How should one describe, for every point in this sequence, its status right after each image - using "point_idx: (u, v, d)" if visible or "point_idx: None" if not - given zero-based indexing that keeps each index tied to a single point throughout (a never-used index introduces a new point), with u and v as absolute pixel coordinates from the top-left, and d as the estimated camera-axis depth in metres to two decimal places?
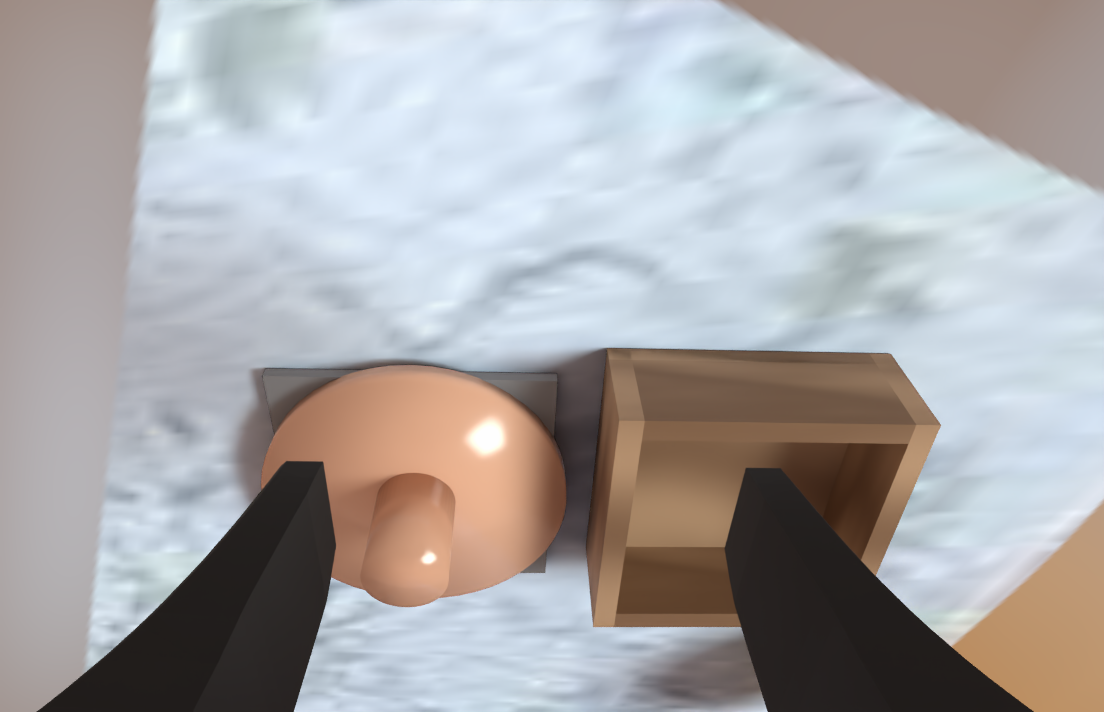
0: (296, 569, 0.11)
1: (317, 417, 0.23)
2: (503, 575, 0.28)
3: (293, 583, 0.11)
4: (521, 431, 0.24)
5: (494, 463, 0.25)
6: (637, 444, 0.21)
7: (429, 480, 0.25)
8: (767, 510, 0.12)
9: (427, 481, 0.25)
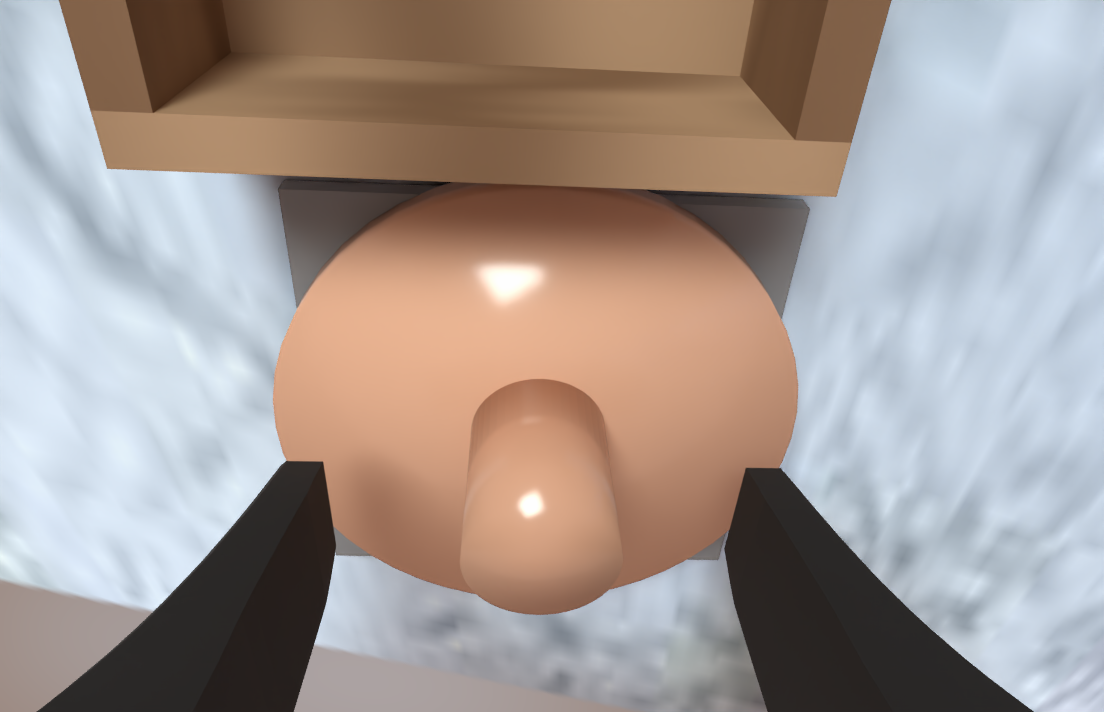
0: (296, 569, 0.11)
1: (365, 530, 0.16)
2: (757, 308, 0.13)
3: (293, 583, 0.11)
4: (362, 271, 0.13)
5: (444, 317, 0.13)
6: (167, 123, 0.09)
7: (476, 418, 0.14)
8: (767, 510, 0.12)
9: (474, 422, 0.14)
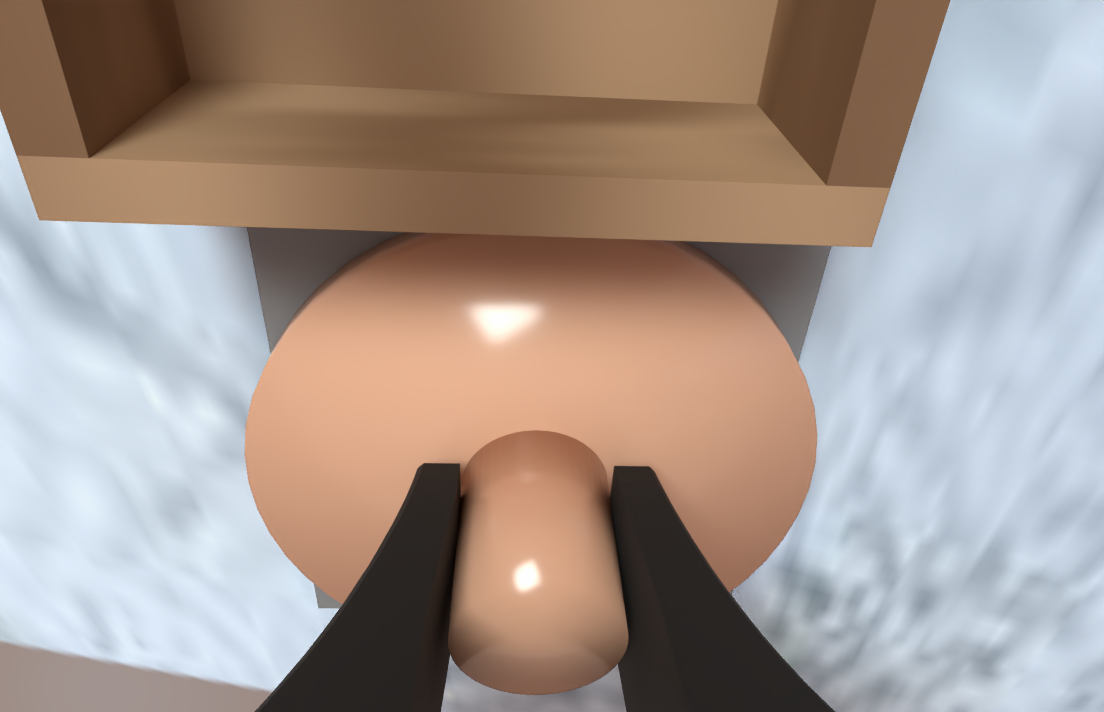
0: (448, 570, 0.11)
1: (348, 587, 0.15)
2: (774, 355, 0.12)
3: (446, 584, 0.11)
4: (339, 319, 0.12)
5: (431, 366, 0.12)
6: (105, 169, 0.08)
7: (467, 473, 0.13)
8: (623, 508, 0.12)
9: (465, 477, 0.13)
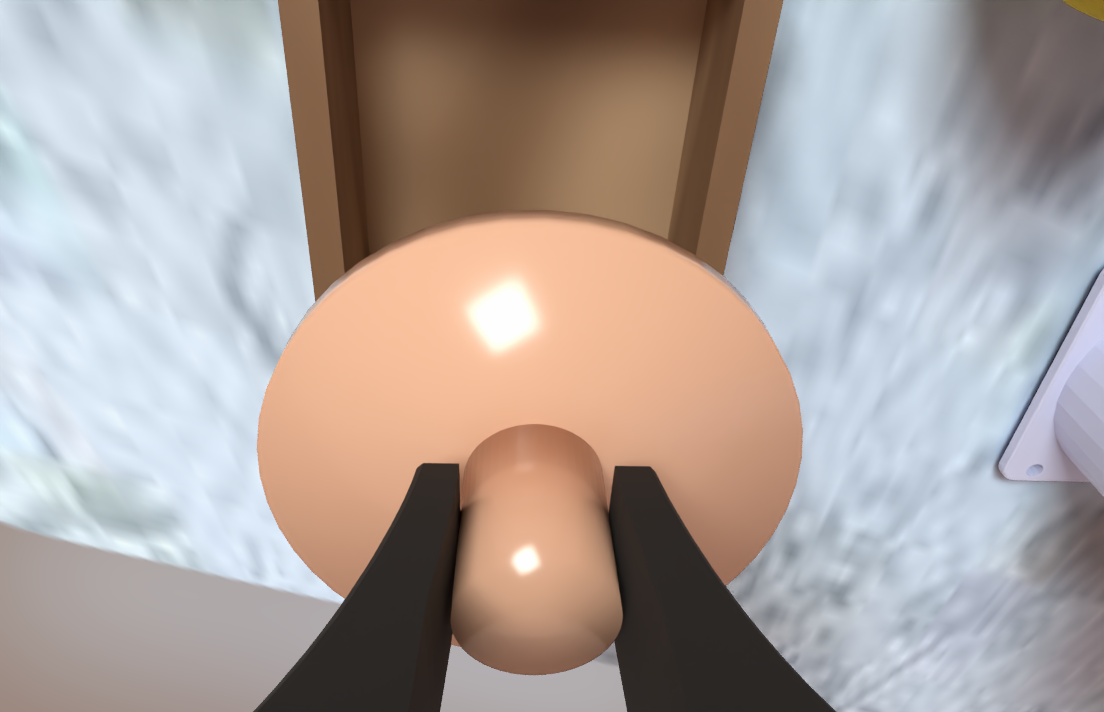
0: (447, 570, 0.11)
1: (352, 582, 0.16)
2: (760, 350, 0.13)
3: (445, 584, 0.11)
4: (350, 314, 0.12)
5: (435, 360, 0.13)
6: None
7: (468, 465, 0.14)
8: (624, 508, 0.12)
9: (467, 469, 0.14)
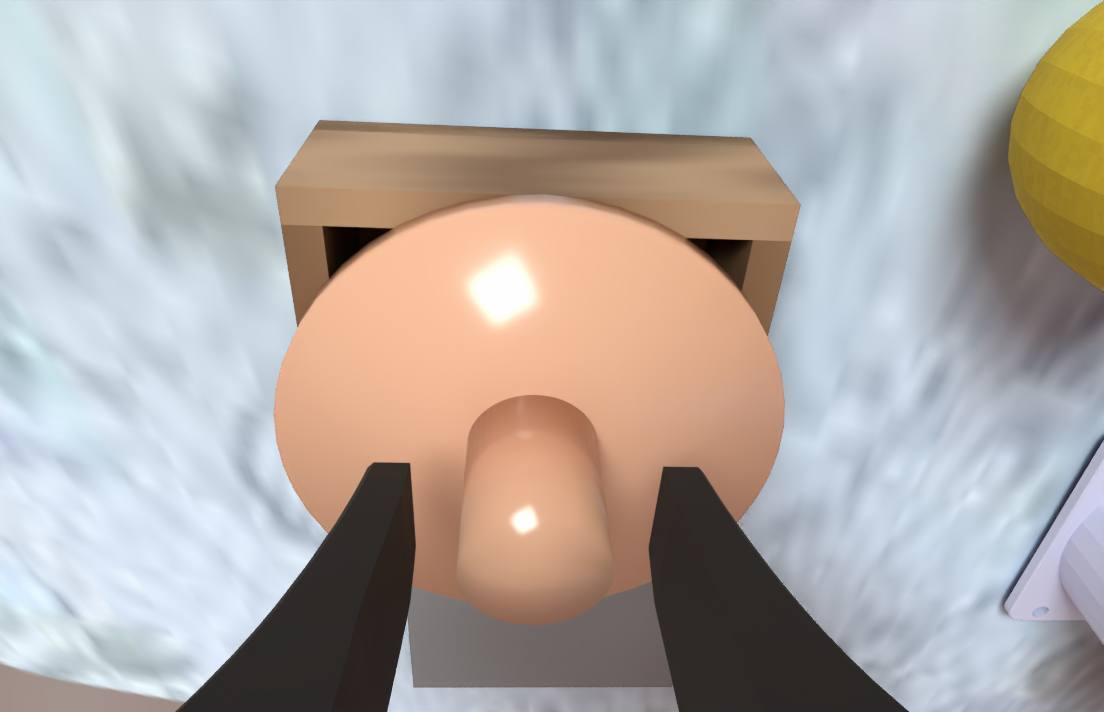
0: (392, 570, 0.11)
1: None
2: (745, 327, 0.14)
3: (390, 583, 0.11)
4: (361, 292, 0.13)
5: (441, 335, 0.14)
6: None
7: (472, 433, 0.15)
8: (677, 509, 0.12)
9: (470, 436, 0.15)
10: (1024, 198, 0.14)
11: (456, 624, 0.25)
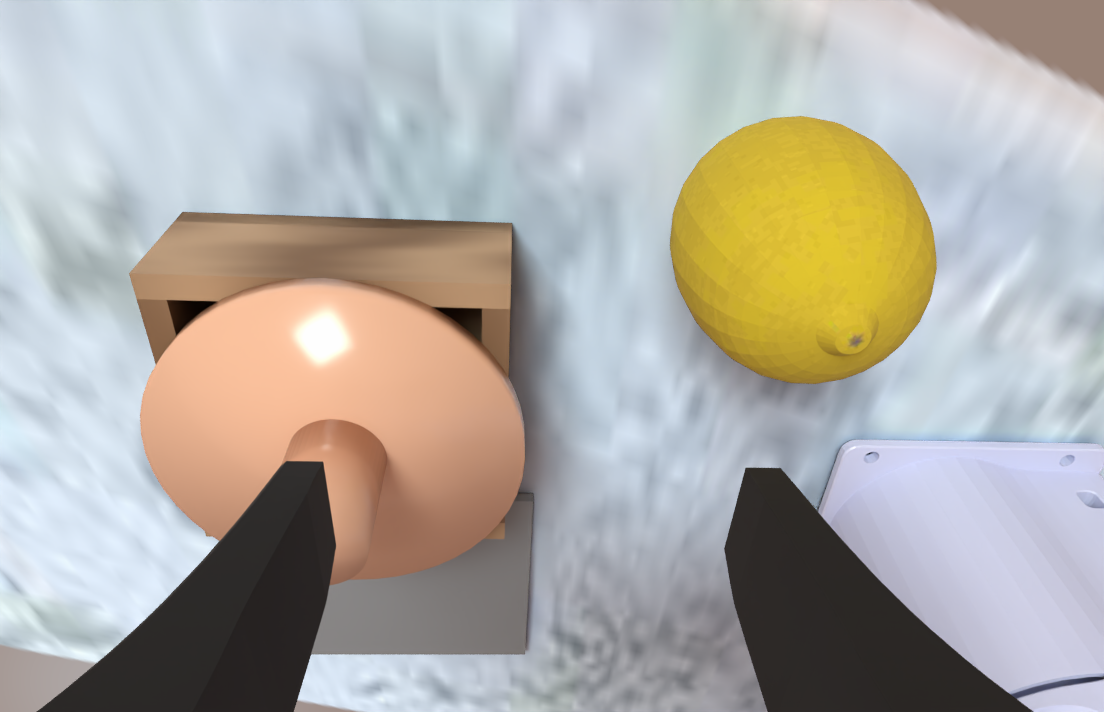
0: (296, 569, 0.11)
1: (221, 528, 0.22)
2: (477, 371, 0.19)
3: (293, 583, 0.11)
4: (193, 348, 0.18)
5: (256, 377, 0.19)
6: None
7: (288, 447, 0.20)
8: (767, 510, 0.12)
9: (286, 450, 0.20)
10: None
11: (335, 600, 0.30)
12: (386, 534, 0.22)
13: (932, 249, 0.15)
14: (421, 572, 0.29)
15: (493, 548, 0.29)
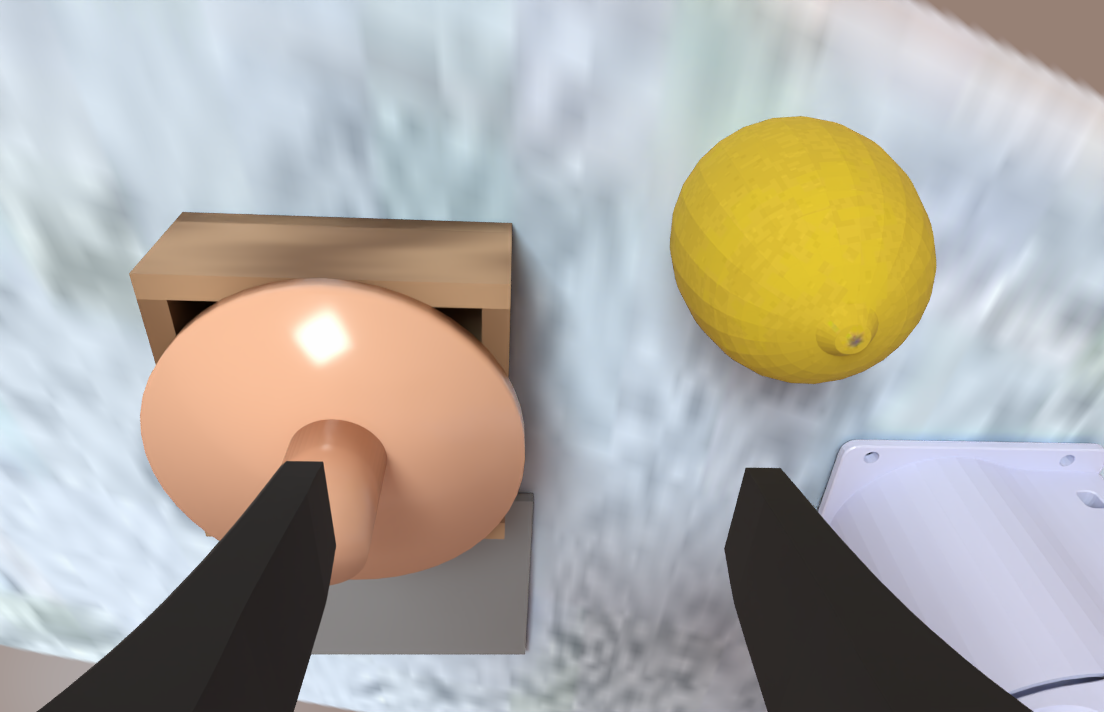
0: (296, 569, 0.11)
1: (221, 528, 0.22)
2: (477, 371, 0.19)
3: (293, 583, 0.11)
4: (193, 348, 0.18)
5: (256, 377, 0.19)
6: None
7: (288, 447, 0.20)
8: (767, 510, 0.12)
9: (286, 450, 0.20)
10: None
11: (335, 600, 0.30)
12: (386, 534, 0.22)
13: (932, 249, 0.15)
14: (421, 572, 0.29)
15: (493, 548, 0.29)
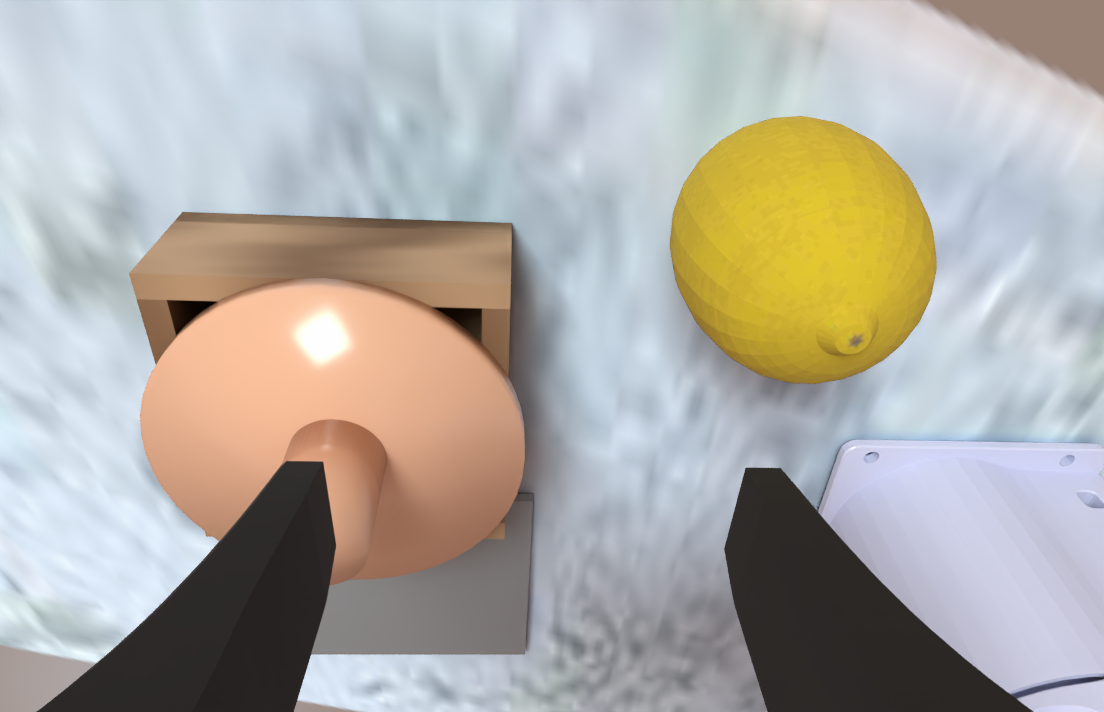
0: (296, 569, 0.11)
1: (221, 528, 0.22)
2: (477, 371, 0.19)
3: (293, 583, 0.11)
4: (193, 348, 0.18)
5: (256, 377, 0.19)
6: None
7: (288, 447, 0.20)
8: (767, 510, 0.12)
9: (286, 450, 0.20)
10: None
11: (335, 600, 0.30)
12: (386, 534, 0.22)
13: (932, 249, 0.15)
14: (421, 572, 0.29)
15: (493, 548, 0.29)
